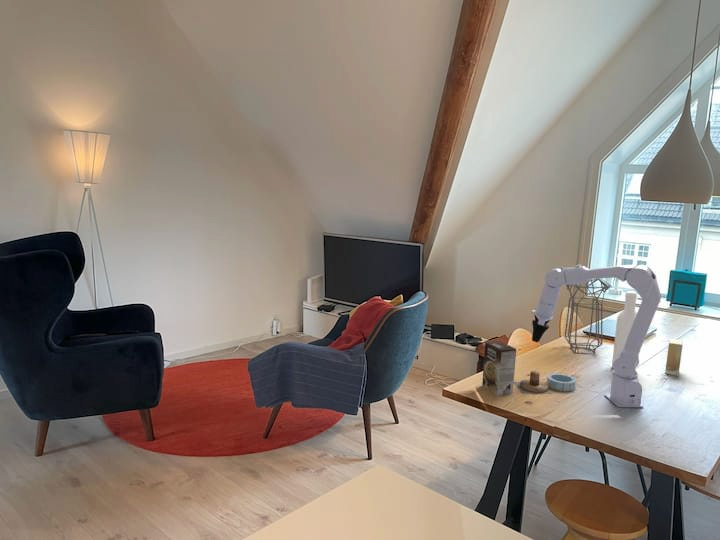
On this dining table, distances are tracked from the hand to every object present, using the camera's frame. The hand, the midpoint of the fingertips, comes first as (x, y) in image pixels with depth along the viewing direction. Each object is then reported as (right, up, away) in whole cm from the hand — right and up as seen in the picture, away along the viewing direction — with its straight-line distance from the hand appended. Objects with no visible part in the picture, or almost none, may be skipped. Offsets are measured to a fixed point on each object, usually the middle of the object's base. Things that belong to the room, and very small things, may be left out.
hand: (535, 338), depth 182 cm
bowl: (+7, -16, -4) cm, 18 cm away
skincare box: (+56, -15, +14) cm, 59 cm away
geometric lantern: (+31, -11, +37) cm, 50 cm away
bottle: (+39, -14, +16) cm, 44 cm away
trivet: (-3, -17, -6) cm, 18 cm away
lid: (-3, -16, -7) cm, 17 cm away
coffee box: (-16, -17, -9) cm, 25 cm away
